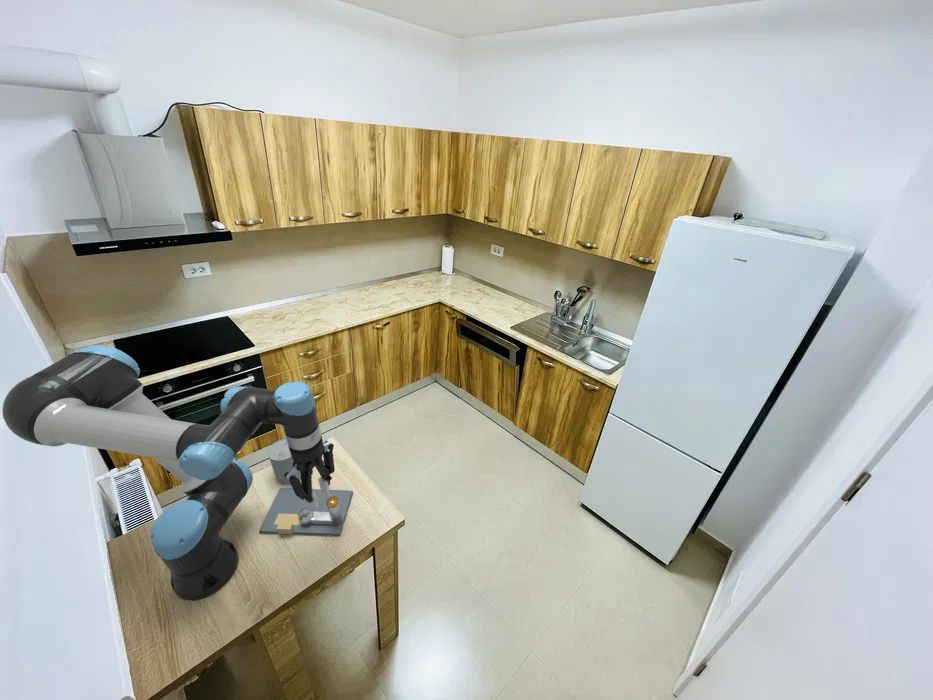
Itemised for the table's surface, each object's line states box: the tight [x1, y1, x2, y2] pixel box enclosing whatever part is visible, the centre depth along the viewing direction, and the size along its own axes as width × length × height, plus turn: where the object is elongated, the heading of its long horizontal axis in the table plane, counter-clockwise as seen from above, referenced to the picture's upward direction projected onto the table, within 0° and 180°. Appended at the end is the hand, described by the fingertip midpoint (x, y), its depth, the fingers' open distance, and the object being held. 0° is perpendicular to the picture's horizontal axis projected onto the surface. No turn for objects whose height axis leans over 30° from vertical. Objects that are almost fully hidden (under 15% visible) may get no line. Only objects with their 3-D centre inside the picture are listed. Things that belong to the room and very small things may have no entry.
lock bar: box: [298, 496, 342, 526], centre depth 111 cm, size 13×4×10 cm, turn 90°
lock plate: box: [258, 487, 354, 537], centre depth 116 cm, size 24×16×5 cm, turn 90°
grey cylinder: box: [267, 438, 301, 486], centre depth 126 cm, size 10×10×12 cm
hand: (320, 500), depth 101 cm, fingers open, 3 cm apart
